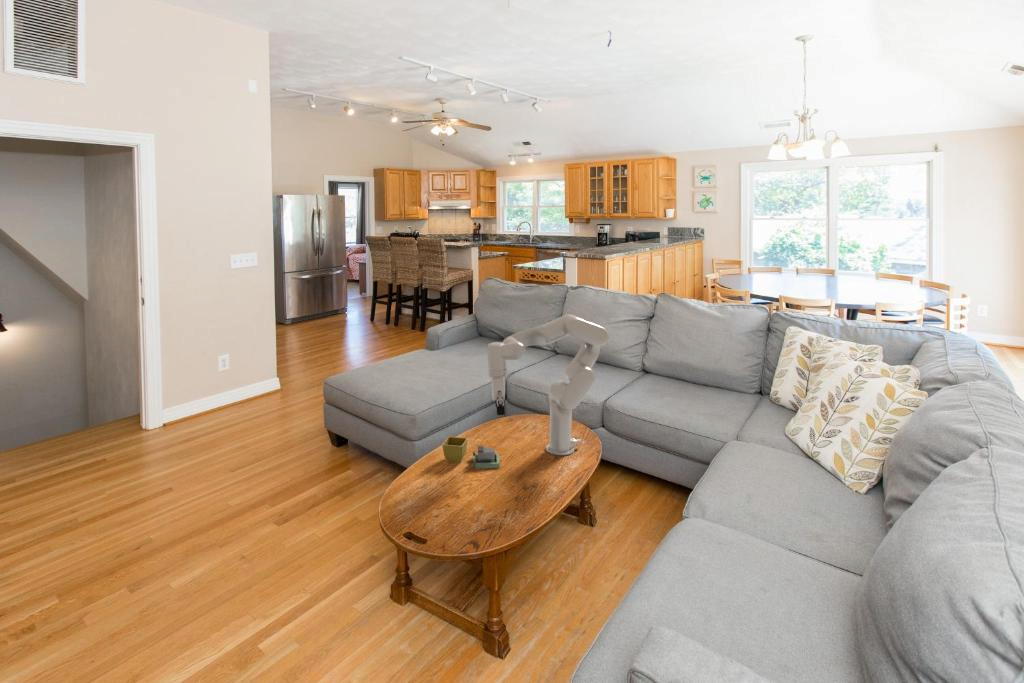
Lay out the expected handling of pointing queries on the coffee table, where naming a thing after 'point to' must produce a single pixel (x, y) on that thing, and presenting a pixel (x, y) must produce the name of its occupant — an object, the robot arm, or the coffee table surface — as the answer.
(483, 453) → the chute block
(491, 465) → the frame
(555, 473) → the coffee table surface
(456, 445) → the flower pot
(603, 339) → the robot arm
